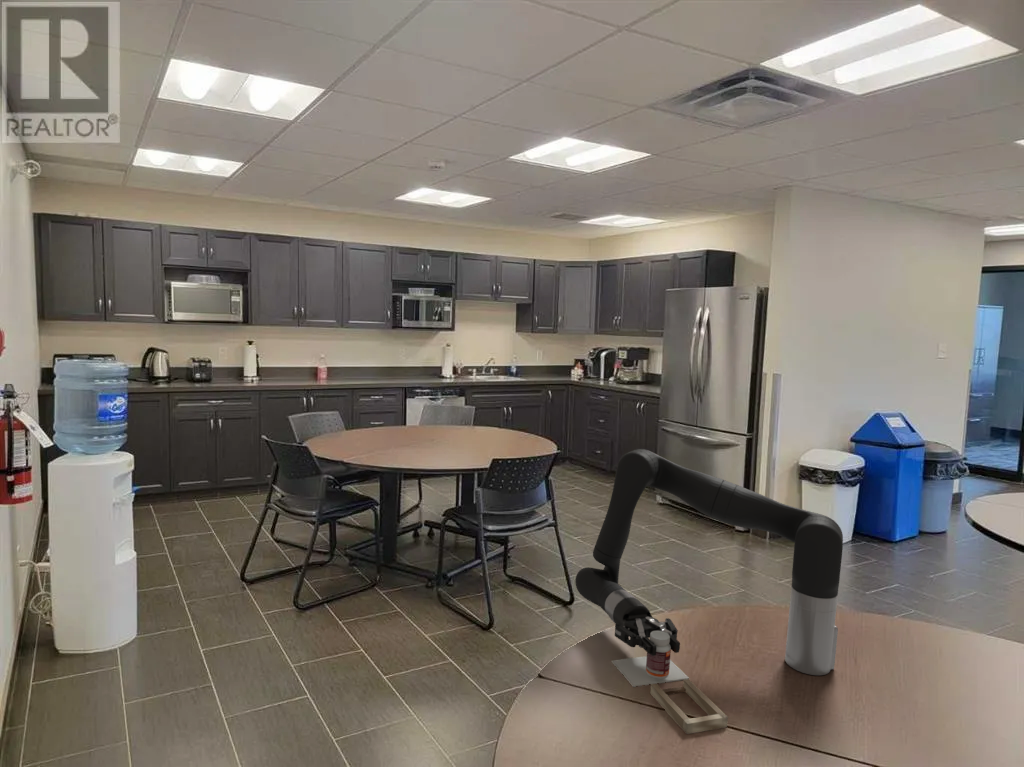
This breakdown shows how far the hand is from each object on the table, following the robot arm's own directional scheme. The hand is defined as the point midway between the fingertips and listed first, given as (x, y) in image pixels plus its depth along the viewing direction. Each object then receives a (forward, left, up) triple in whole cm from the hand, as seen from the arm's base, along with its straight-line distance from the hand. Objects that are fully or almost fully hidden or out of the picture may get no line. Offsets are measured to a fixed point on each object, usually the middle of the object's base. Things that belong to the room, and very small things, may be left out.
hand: (666, 649), depth 133 cm
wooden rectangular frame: (0, +9, -8) cm, 12 cm away
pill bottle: (0, -3, -7) cm, 7 cm away
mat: (0, -6, -8) cm, 10 cm away
